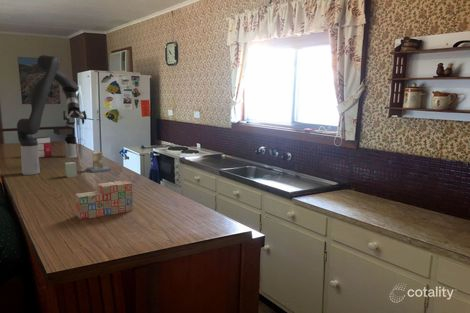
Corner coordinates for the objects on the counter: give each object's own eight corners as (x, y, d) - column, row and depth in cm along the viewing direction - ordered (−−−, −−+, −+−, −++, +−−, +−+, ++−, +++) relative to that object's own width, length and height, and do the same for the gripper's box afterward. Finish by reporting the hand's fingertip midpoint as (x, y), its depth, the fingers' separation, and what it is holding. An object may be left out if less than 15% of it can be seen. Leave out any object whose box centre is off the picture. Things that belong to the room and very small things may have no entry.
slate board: (93, 172, 234) (93, 170, 234) (86, 169, 244) (86, 167, 244) (110, 170, 241) (110, 168, 241) (103, 167, 251) (103, 165, 251)
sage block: (68, 177, 221) (67, 164, 220) (65, 176, 225) (64, 162, 223) (76, 176, 224) (76, 163, 223) (74, 175, 228) (73, 161, 227)
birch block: (95, 168, 239) (94, 153, 237) (93, 167, 243) (92, 152, 241) (103, 168, 242) (102, 152, 240) (101, 166, 246) (100, 151, 244)
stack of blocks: (80, 220, 148) (78, 189, 146) (76, 215, 153) (74, 186, 151) (133, 211, 160) (132, 182, 158) (127, 207, 165) (126, 179, 163)
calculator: (37, 158, 283) (36, 138, 281) (35, 157, 286) (33, 137, 284) (52, 156, 292) (50, 137, 290) (49, 155, 295) (48, 136, 292)
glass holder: (65, 156, 294) (63, 136, 292) (84, 155, 300) (83, 136, 297) (65, 157, 286) (64, 138, 284) (85, 156, 292) (84, 137, 290)
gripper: (61, 101, 251) (64, 120, 243) (84, 101, 258) (87, 119, 250) (61, 109, 257) (64, 127, 249) (83, 109, 264) (87, 127, 256)
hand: (76, 123), depth 250 cm, fingers open, 8 cm apart
